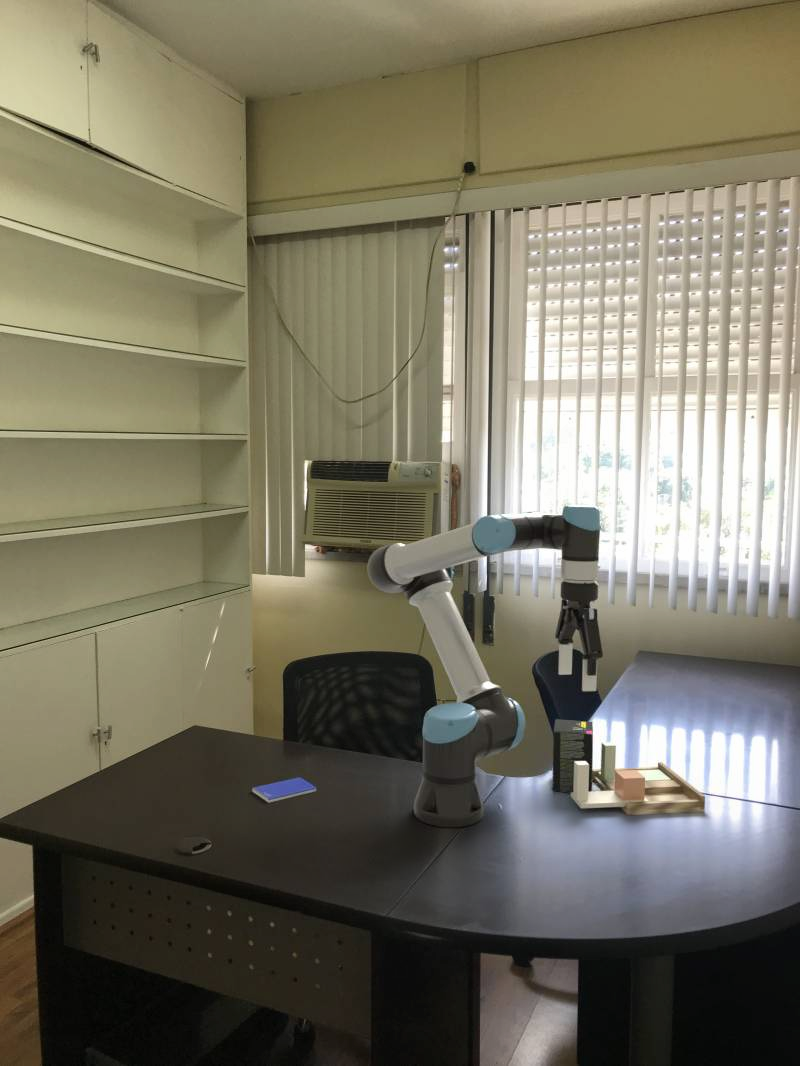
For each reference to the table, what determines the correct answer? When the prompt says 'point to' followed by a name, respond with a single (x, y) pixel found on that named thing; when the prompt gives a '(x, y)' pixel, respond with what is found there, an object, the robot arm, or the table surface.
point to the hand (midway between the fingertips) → (576, 682)
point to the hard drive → (283, 789)
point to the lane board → (660, 794)
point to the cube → (629, 785)
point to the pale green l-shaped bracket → (609, 766)
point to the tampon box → (571, 752)
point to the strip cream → (594, 797)
